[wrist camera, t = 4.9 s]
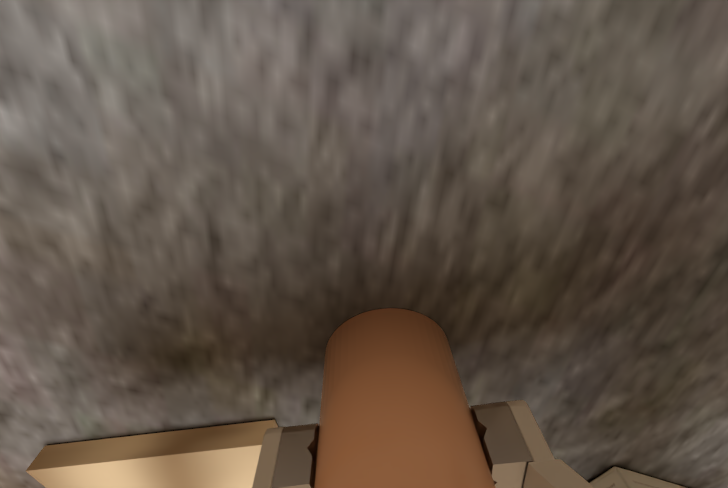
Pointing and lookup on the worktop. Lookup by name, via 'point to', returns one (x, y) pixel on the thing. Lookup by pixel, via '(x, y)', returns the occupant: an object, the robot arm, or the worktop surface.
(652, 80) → the worktop surface
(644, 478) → the small box
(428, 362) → the terracotta canister
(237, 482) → the birch pad
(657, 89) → the worktop surface
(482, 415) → the robot arm
